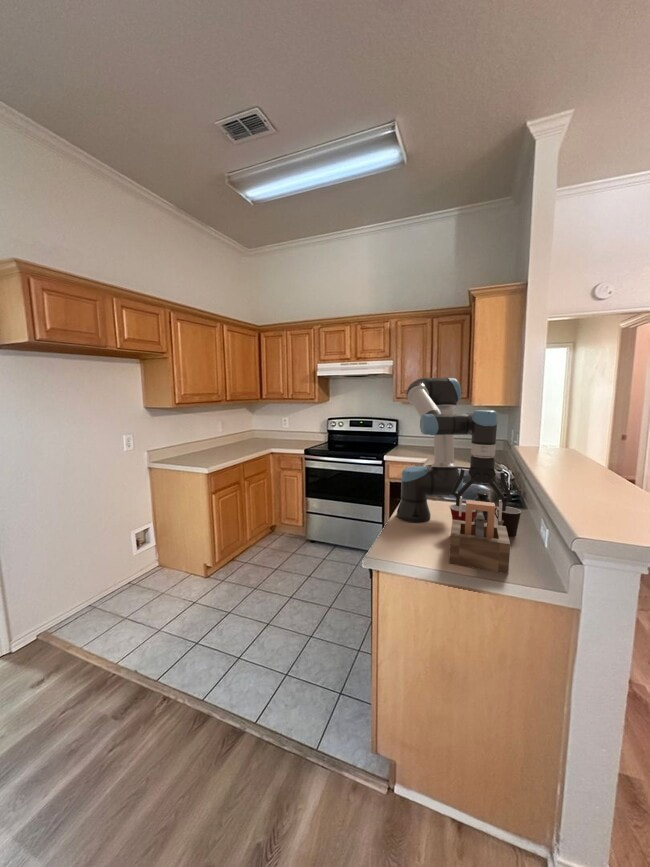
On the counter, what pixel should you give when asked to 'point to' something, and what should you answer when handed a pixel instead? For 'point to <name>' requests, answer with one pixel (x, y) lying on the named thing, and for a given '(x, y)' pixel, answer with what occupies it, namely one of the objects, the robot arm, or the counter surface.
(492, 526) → the block
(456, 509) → the plastic cup
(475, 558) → the open wooden box
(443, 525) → the counter surface
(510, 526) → the coffee mug
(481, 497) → the supplement bottle
